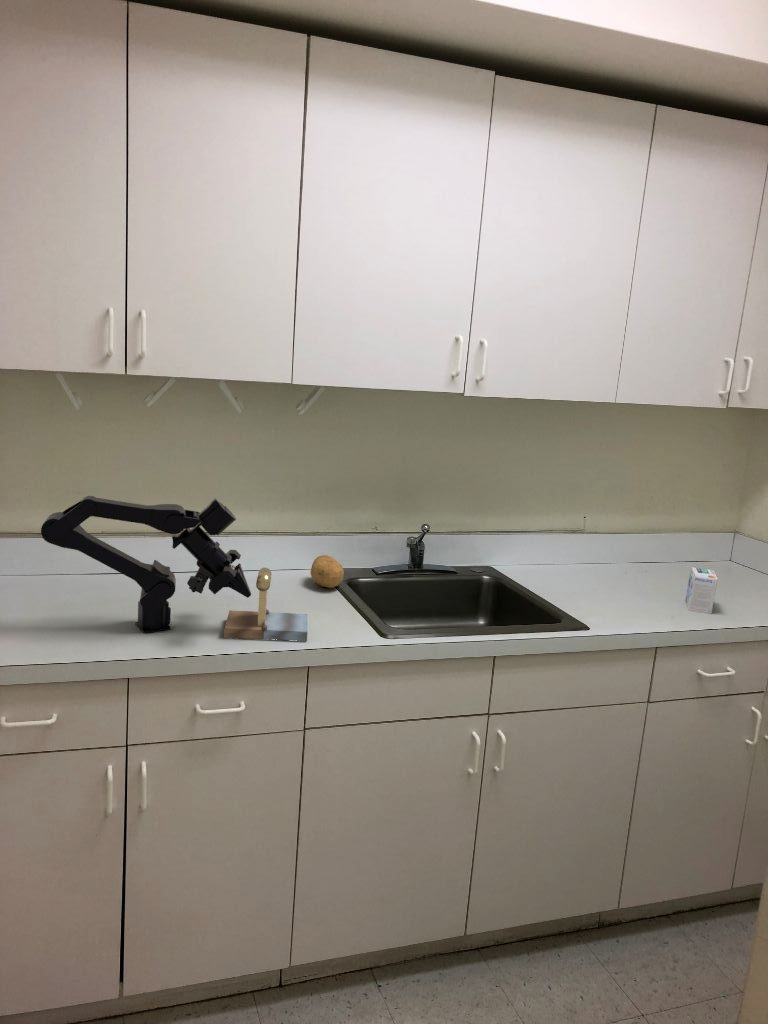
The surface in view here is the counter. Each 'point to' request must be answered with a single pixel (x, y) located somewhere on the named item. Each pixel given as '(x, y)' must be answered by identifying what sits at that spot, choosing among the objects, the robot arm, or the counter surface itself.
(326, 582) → the potato
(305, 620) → the wood and metal base
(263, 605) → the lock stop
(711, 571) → the light bulb box
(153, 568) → the robot arm
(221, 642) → the counter surface
